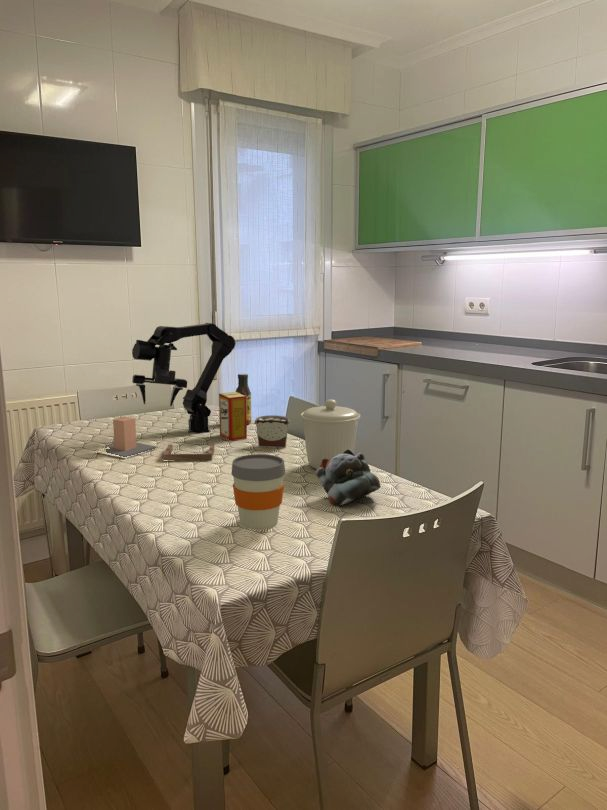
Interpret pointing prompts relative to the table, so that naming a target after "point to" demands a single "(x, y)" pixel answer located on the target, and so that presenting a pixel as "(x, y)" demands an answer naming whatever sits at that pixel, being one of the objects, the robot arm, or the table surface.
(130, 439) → the terracotta block
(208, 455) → the walnut bay
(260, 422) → the food container
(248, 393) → the sauce bottle
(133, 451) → the rubber mat
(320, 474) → the grey stuffed animal
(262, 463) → the reusable coffee cup
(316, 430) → the canister
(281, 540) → the table surface
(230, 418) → the baking soda box
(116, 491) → the table surface
